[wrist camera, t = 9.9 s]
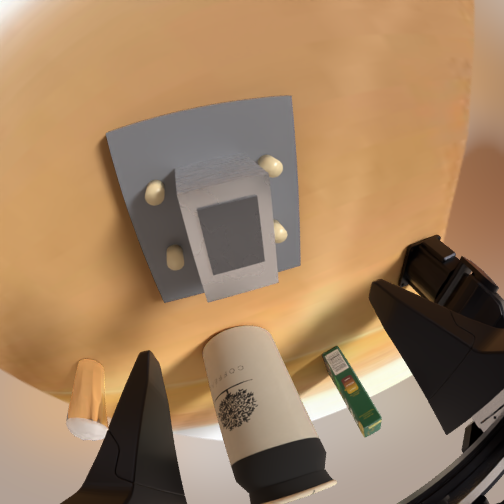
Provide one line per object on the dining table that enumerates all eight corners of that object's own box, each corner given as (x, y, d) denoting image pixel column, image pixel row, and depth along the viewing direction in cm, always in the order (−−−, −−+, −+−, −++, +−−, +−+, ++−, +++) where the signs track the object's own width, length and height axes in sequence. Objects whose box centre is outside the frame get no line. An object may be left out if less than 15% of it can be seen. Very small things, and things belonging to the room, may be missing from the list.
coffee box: (319, 353, 35) (363, 431, 24) (337, 343, 35) (384, 418, 24) (327, 374, 40) (363, 438, 29) (343, 365, 40) (381, 428, 29)
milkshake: (102, 383, 27) (102, 456, 19) (66, 364, 23) (58, 441, 15) (122, 371, 26) (125, 450, 18) (84, 349, 23) (77, 434, 15)
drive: (255, 242, 21) (279, 284, 17) (197, 257, 20) (208, 304, 16) (243, 153, 17) (269, 174, 13) (174, 168, 16) (176, 195, 12)
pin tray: (295, 259, 24) (307, 275, 22) (164, 295, 22) (165, 315, 20) (285, 95, 16) (301, 96, 14) (109, 131, 14) (99, 136, 12)
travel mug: (281, 347, 31) (345, 480, 17) (224, 375, 31) (268, 508, 17) (254, 311, 26) (332, 485, 12) (187, 346, 27) (229, 516, 12)
